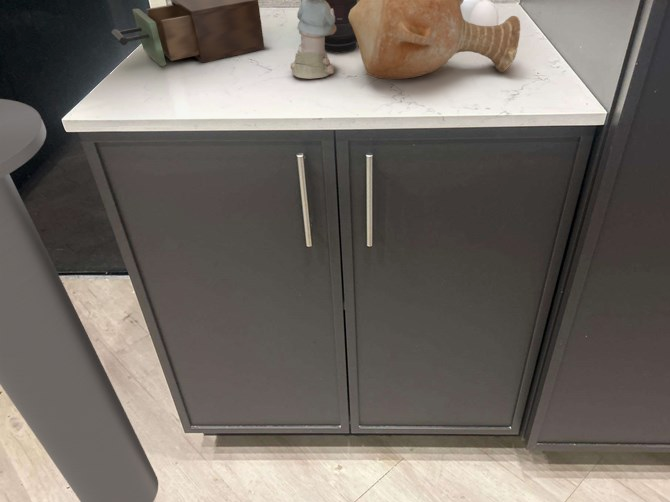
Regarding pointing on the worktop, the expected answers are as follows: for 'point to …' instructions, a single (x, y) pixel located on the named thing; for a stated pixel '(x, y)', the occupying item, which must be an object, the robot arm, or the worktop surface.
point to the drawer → (163, 33)
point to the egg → (484, 14)
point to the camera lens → (341, 27)
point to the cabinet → (224, 27)
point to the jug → (425, 36)
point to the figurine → (313, 39)
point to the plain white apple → (468, 8)
